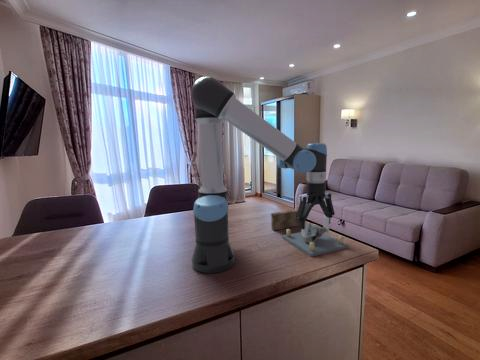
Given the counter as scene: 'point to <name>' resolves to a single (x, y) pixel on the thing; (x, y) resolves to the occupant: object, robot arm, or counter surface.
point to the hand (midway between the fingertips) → (315, 234)
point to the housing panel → (284, 219)
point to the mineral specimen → (314, 233)
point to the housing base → (317, 248)
